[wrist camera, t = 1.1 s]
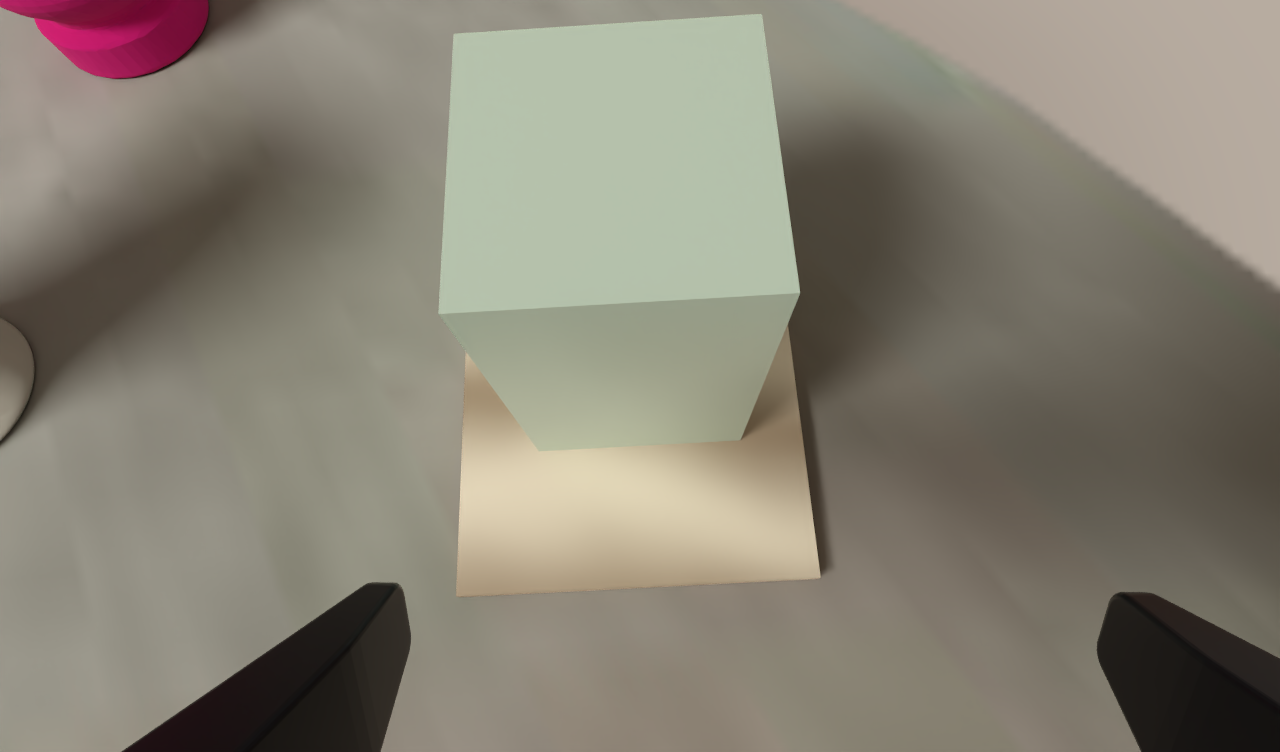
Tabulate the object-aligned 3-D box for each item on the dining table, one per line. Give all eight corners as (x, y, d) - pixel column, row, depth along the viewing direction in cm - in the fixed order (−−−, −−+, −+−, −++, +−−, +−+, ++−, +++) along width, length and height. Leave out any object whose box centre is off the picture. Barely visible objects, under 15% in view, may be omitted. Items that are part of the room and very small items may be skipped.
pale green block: (740, 440, 22) (800, 293, 12) (539, 451, 23) (438, 314, 13) (722, 261, 25) (762, 13, 15) (539, 272, 25) (454, 33, 15)
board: (816, 578, 22) (820, 577, 21) (461, 596, 22) (456, 596, 21) (776, 262, 25) (778, 254, 25) (473, 280, 25) (469, 272, 25)
